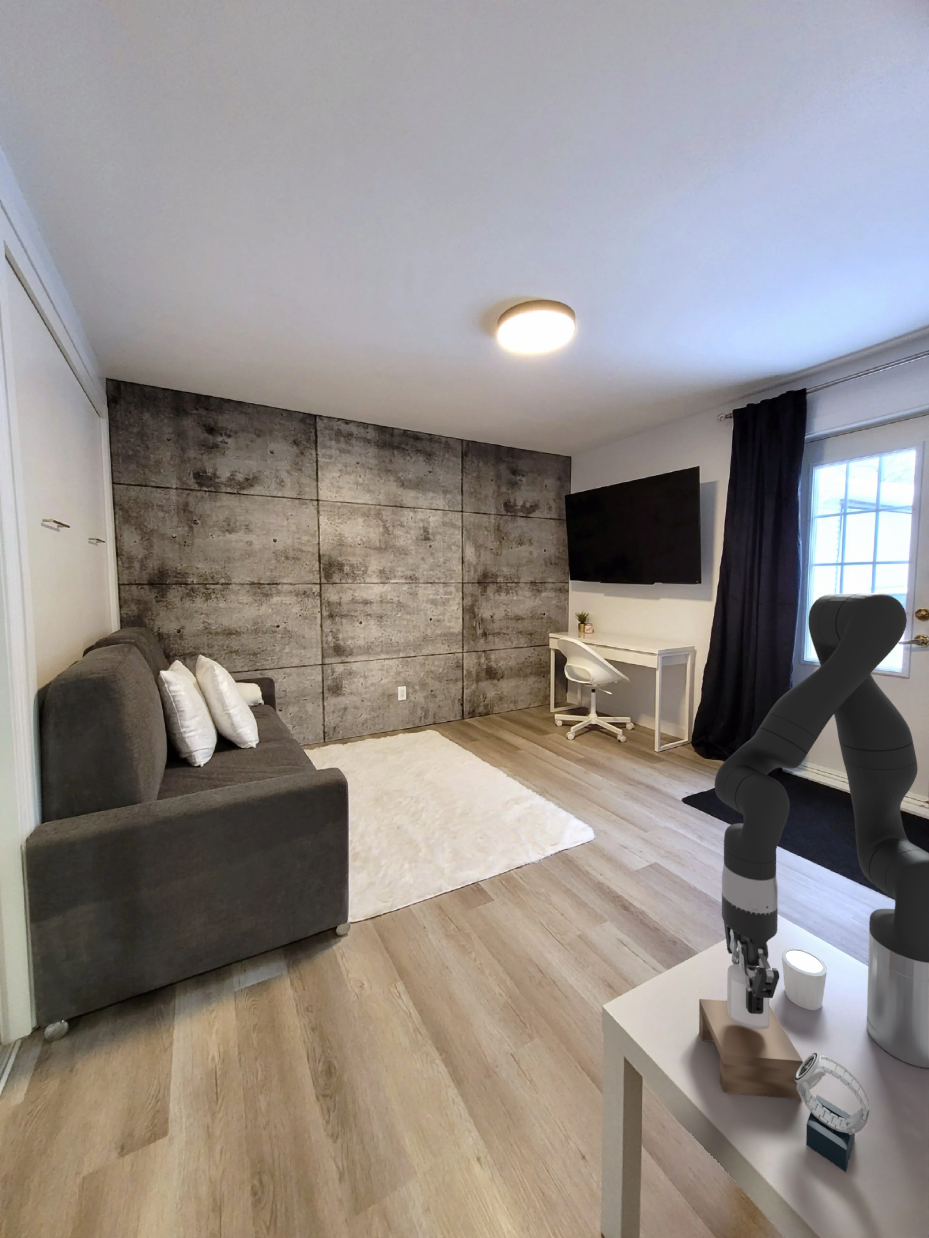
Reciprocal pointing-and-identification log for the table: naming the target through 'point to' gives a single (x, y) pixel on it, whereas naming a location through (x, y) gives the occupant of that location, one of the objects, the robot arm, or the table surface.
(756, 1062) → the brown wooden block
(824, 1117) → the watch
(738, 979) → the eye dropper bottle
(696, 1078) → the table surface
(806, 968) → the white oval container
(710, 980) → the table surface
